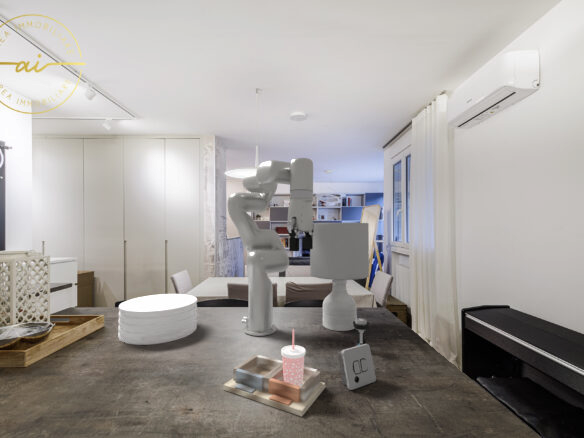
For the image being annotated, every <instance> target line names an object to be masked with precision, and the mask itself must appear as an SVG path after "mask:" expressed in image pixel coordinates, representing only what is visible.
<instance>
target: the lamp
mask: <svg viewBox="0 0 584 438" xmlns="http://www.w3.org/2000/svg"><path fill="white" fill-rule="evenodd" d="M313 224H314V229H313V230H314V232H313V249H309V250H310V251H309V265H310V266H309V268H310V269H309V272H310V274H309V275H310V276H311V277H313V278H318V279H323V280H324V279H325V280H331V283H332V288H331V289H332V290H331V292H330V293H329V294H328V295H327V296H326V297H325V298H323V301H322V318H321V320H322V326H323V327H324V328H326V329H327V330H330V331H337V332H347V331H348V332H349V331H352V330H354V329H355V328H354V324H353V321H356V319H357V318H358V317H357V312H358V311H357V308H358V307H357V303H356V300H355V299H354V297H353V296H352V295H351V294H349V292H348V290H347V283H348V281H351V280H352V281H354V280H364V279H367V278H369V277H370V275H369V274H370V271H369V270H370V269H369V268H370V265H369V264H370V262H369V261H370V260H369V259H370V258H369V256H370V255H369V252H370V249H369V248H370V247H369V246H370V245H369V243H370V242H369V239H370V238H369V234H370V233H369V230H370V229H369V223H368V222H313ZM355 330H356V329H355Z"/></svg>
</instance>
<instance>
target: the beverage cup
mask: <svg viewBox="0 0 584 438" xmlns="http://www.w3.org/2000/svg"><path fill="white" fill-rule="evenodd" d="M291 334H292V337H291V338H292V342H291V343H292V344H291V345H285V346H283V347H282V348H281V349H280V353H281V356H282V357H281V358H282V359H281V360H282V361H283V377H284V382H287V383H290V384H294V385H297V386H302V385H303V371H304V366H305V356H306V348H305V347H304V346H301V345H297V344H296V345H295V328H294V329H292V333H291Z"/></svg>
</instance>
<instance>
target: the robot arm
mask: <svg viewBox="0 0 584 438" xmlns="http://www.w3.org/2000/svg"><path fill="white" fill-rule="evenodd" d="M313 162H314V161H313V160H312V159H310V158H307V157H296V158H293V159H291V161H290V162H289V161H282V160H274V159H273V160H267V161H264V162H261V163H260V164H259V165H258V167H257V168H256V170H255V171H252V172H249V173H247V174H246V175H245V176H244V177H243V179H242V185H243V187H244V189H245V190H246V191H248V192H235V193H233V194H231V195H230V196H229V197H228V198H227V204H226V206H227V212H228V216H229V217H230V219H231V221H232V223H233V224H234V226H235V228H236V230H237V232H238V235H239V238H240V240H241V244H242V246H243V248H244V250H245V251H246V252H249V253H248V254H247V256H246V260H245V264H246V270H247V277H248V278H247V279H248V283H247V284H248V316H245V315H244V316H243V317H242V319H241V320H240V322H241V323H242V324H245V326H244V329H243V331H244V333H245V334H246V335H249V336H254V337H264V336H265V337H266V336H269V335H273V334H274V333H276V331H277V329H278V328H277V326H276V325H275V324H274V323H273V317H274V316H273V314H274V313H273V310H274V308H273V307H274V306H273V304H274V303H273V298H274V297H273V296H274V295H273V292H274V291H273V290H274V287H273V282H272V280H271V279H270V277H269V276H268V275H269V274H276V273H283V272H285V271H287V270H288V268H289V267H290V258H289V255H288V252H287V250H286V247H285V245H284V243H283V241H282V239H281V237H280V235H279V233H278V232H277V231H275V230H273V229H268V228H267V229H264V228H263V229H261V228H259V227H258V225H257V222H256V220H255V219H254V218H253V217H252V216H251V215H250V214H248V213H263V212H265V211H266V210H267V208H268V207H269V206H270V204H271V201H272V199H273V198H274V195H275V194H276V192H277V190H278V189H277V188H278V184H281V185H289V202H288V210H287V222H286V229H287V233H288V239H289V241H288V242H289V243H288V244H289V248H288V249H289V252H299V251H300V237H299V235H300V233H301V232H302V233H303V235H304V236H303V240H302V241H303V244H302V245H303V248H302V249H304V250H310V249H313V232H314V230H313V229H314V224H313V223H314V212H313V211H314V210H313V202H314V163H313Z"/></svg>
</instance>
